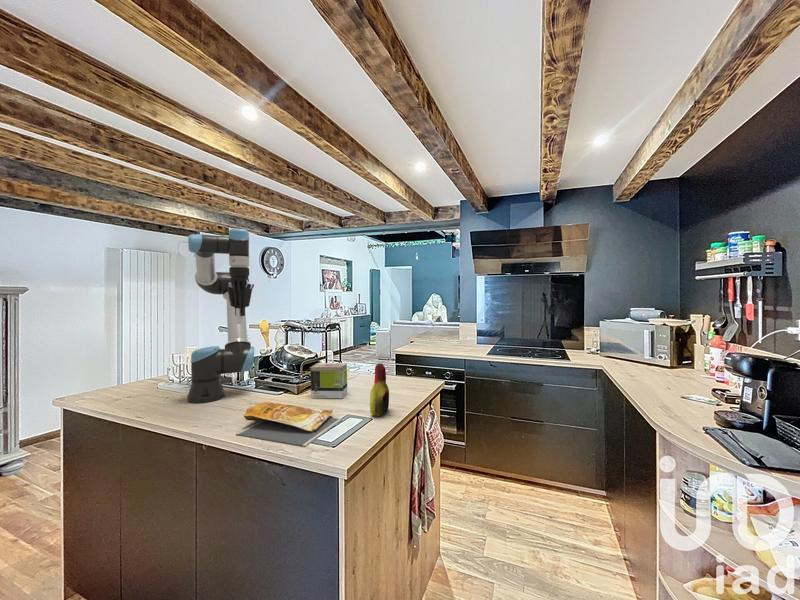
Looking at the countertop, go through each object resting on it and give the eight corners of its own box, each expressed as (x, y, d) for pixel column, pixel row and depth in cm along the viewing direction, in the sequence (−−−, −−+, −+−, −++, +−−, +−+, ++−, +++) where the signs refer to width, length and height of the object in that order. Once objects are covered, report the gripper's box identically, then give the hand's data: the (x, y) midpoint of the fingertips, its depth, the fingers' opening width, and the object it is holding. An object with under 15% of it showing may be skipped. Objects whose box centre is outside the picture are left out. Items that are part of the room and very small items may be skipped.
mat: (235, 435, 120) (235, 433, 120) (281, 411, 143) (281, 410, 143) (304, 446, 111) (304, 445, 111) (341, 420, 133) (341, 419, 133)
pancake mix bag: (268, 414, 143) (334, 418, 138) (240, 429, 124) (314, 433, 119) (269, 398, 143) (334, 400, 139) (240, 410, 124) (315, 413, 120)
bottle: (380, 407, 148) (380, 360, 147) (394, 409, 145) (393, 361, 145) (366, 416, 137) (366, 366, 136) (380, 419, 134) (380, 367, 134)
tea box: (347, 392, 169) (347, 362, 169) (342, 399, 159) (342, 367, 159) (317, 392, 171) (317, 362, 170) (310, 398, 161) (310, 366, 160)
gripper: (219, 266, 143) (220, 324, 144) (245, 266, 138) (246, 325, 139) (233, 267, 150) (234, 322, 151) (258, 267, 145) (259, 323, 147)
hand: (240, 323), depth 145 cm, fingers closed
